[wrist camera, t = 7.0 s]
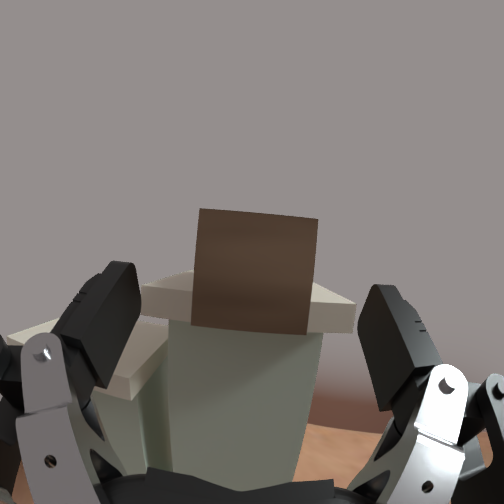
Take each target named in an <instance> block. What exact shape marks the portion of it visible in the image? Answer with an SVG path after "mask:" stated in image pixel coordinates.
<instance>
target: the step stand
mask: <svg viewBox="0 0 504 504" xmlns="http://www.w3.org/2000/svg"><path fill="white" fill-rule="evenodd" d="M193 277H194V270H189V271H186V272H182V273H179V274H176V275H172V276H169V277H166V278H163V279H160V280H157V281H153V282H151V283H147V284H144V285H142V287H141V301H142V305H141V315H144V316H151V317H157V318H164V319H169V326H168V325H161V324H155V323H149V322H143V321H137V322H136V324H135V326H134V328H133V330H132V332H131V335H130V337H129V339H128V341H127V343H126V346H125V348H124V350H123V352H122V355H121V357H120V359H119V361H118V364H117V366H116V368H115V371H114V373H113V376H112V378H111V380H110V383H109V385H108V388H107V390H106V389H103V388H100V387H96V386H95V387H94V389H93V391H92V395H93V398H94V401H95V404H96V407H97V410H98V413H99V416H100V419H101V421H102V424H103V427H104V430H105V432H106V435H107V437H108V440H109V442H110V444H111V446H112V448H113V450H114V452H115V453H116V454H117V456H118V458H119V459H120V461H121V463H122V465H123V466H124V468H125V470H126V472H127V475H132V474H146V472H147V467H152V468H156V469H161V470H165V471H170V472H175V473H180V474H186V475H192V476H195V477H197V478H200V479H203V480H205V481H208V482H211V483H214V484H217V485H220V486H223V487H226V488H229V489H232V490H236V491H249V490H254V489H260V488H265V487H270V486H275V485H279V484H283V483H287V482H292V480H293V476H294V473H295V469H296V465H297V462H298V458H299V454H300V450H301V446H302V442H303V438H304V434H305V429H306V425H307V420H308V416H309V411H310V406H311V401H312V396H313V391H314V386H315V381H316V375H317V370H318V364H319V358H320V352H321V345H322V339H323V333H352V332H353V326H354V319H355V311H356V303H354V302H352V301H350V300H348V299H346V298H344V297H342V296H340V295H338V294H335V293H334V292H332V291H330V290H328V289H325V288H324V287H322V286H320V285H318V284H316V283H314V282H313V285H312V294H311V303H310V311H309V319H308V327H307V335H290V334H274V333H260V332H247V331H236V330H226V329H217V328H208V327H199V326H191V309H192V292H193ZM58 320H59V318H57V319H55V320H52V321H49V322H46V323H43V324H40V325H37V326H35V327H32V328H29V329H26V330H23V331H20V332H17V333H15V334H12V335H9V336H7V344H8V345H23V346H24V344H25V343H26V341H27V340H28V339H29V338H31V337H32V336H34V335H36V334H39V333H43V332H48V333H50V332H51V330H52V329H53V327H54V326H55V324H56V323H57V321H58Z"/></svg>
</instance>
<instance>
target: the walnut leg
mask: <svg viewBox="0 0 504 504" xmlns="http://www.w3.org/2000/svg"><path fill="white" fill-rule="evenodd" d="M317 229H318V219H313V218H304V217H294V216H284V215H274V214H263V213H252V212H240V211H228V210H215V209H201V208H200V210H199V220H198V230H197V241H196V253H195V265H194V277H193V292H192V309H191V326H199V327H208V328H217V329H226V330H236V331H247V332H260V333H274V334H290V335H307V327H308V319H309V311H310V303H311V294H312V285H313V275H314V265H315V254H316V242H317Z"/></svg>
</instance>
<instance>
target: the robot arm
mask: <svg viewBox="0 0 504 504" xmlns="http://www.w3.org/2000/svg"><path fill="white" fill-rule="evenodd" d="M141 305H142V301H141V295H140V290H139V284H138V279H137V273H136V268H135V265H134V264H133V263H129V262H120V261H111V262H110V263H109V265H108V266H107V267H106V268H105V270H104V271H103V272H102V274H99V273H98V274H97V275H95V276H94V277H92V278H91V279H89V280H88V281H87V282H86V283H85V284H84V285H83V287H82V288H81V290H80V291H79V294H78V293H77V295H76V296H75V298H74V299H73V302H71V303H70V304H69V306H68V307H67V309H66V310H65V311H64V313H63V314H62V316H61V317H60V318H59V320H58V321H57V323H56V324H55V326H54V327H53V329H52V330H51V332H50V333H48V332H43V333H39V334H36V335H34V336H32V337H31V338H29V339H28V340H27V341H26V343H25V344H24V346H23V345H7V344H6V343H5V341H4V340H3V338H2V336H1V335H0V393H1V395H2V396H3V397H2V399H1V401H0V504H16V503H15V502H13V500H12V497H11V496H12V492H13V487H14V483H15V479H16V475H17V472H18V468H19V464H20V461H21V458H22V462H23V466H24V470H25V474H26V478H27V482H28V485H29V488H30V492H31V495H32V498H33V501H34V504H449V502H450V499H451V504H504V377H503V376H502V375H500V374H491V375H490V376H489V377H488V378H487V379H486V380H485V381H484V382H483V383H482V384H477V383H471V382H466V379H465V378H464V376H463V375H462V373H461V372H460V371H459V370H457V369H456V368H454V367H452V366H450V365H444V364H443V362H442V360H441V358H440V356H439V354H438V352H437V350H436V348H435V346H434V344H433V342H432V340H431V338H430V336H429V334H428V332H426V328H425V326H424V324H423V323H421V322H422V320H421V319H420V317H419V315H418V313H417V311H416V310H415V309H414V308H413V307H412V306H411V305H410V304H409V303H408V302H407V301H406V300H403V299H402V297H401V295H400V293H399V291H398V290H397V288H396V287H395V286H394V285H379V284H374V285H373V286H372V287H371V289H370V291H369V294H368V297H367V299H366V302H365V304H364V307H363V309H362V312H361V314H360V317H359V320H358V327H357V330H358V336H359V339H360V342H361V346H362V349H363V352H364V356H365V359H366V363H367V366H368V370H369V373H370V377H371V380H372V384H373V388H374V392H375V395H376V399H377V403H378V407H379V411H380V412H381V411H389V410H392V411H393V415H394V416H393V417H392V418H391V420H390V421H389V423H388V425H387V427H386V429H385V431H384V433H383V435H382V437H381V439H380V441H379V443H378V444H377V446H376V448H375V450H374V452H373V454H372V455H371V457H370V459H369V461H368V462H367V464H366V465H365V467H364V468H363V469H362V470H361V471H360V472H359V473H358V474H357V475H356V477H355V478H354V479H353V480H352V482H351V483H350V484H349V486H348V487H347V489H343V488H339V487H334V481H333V479H329V480H318V481H303V482H287V483H283V484H279V485H275V486H270V487H265V488H260V489H254V490H249V491H236V490H232V489H229V488H226V487H223V486H220V485H217V484H214V483H211V482H208V481H205V480H203V479H200V478H197V477H195V476H192V475H186V474H180V473H175V472H170V471H165V470H161V469H156V468H152V467H147V472H146V474H132V475H127V472H126V470H125V468H124V466H123V465H122V463H121V461H120V459H119V458H118V456H117V454H116V453H115V452H114V450H113V448H112V446H111V444H110V442H109V440H108V437H107V435H106V432H105V430H104V427H103V424H102V421H101V419H100V416H99V413H98V410H97V407H96V404H95V401H94V398H93V395H92V391H93V389H94V387H95V386H96V387H100V388H103V389H106V390H107V388H108V385H109V383H110V380H111V378H112V376H113V373H114V371H115V368H116V366H117V364H118V361H119V359H120V357H121V355H122V352H123V350H124V348H125V346H126V343H127V341H128V339H129V337H130V335H131V332H132V330H133V328H134V326H135V324H136V322H137V319H138V318H139V315H140V312H141ZM485 428H486V430H487V433H488V437H489V440H490V444H491V447H492V451H493V460H492V463H491V464H490V466H489V467H488V468H486V467H485V465H484V461H483V457H482V453H481V449H480V445H479V441H478V438H477V434H479V433H480V432H481V431H482V430H483V429H485Z"/></svg>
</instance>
